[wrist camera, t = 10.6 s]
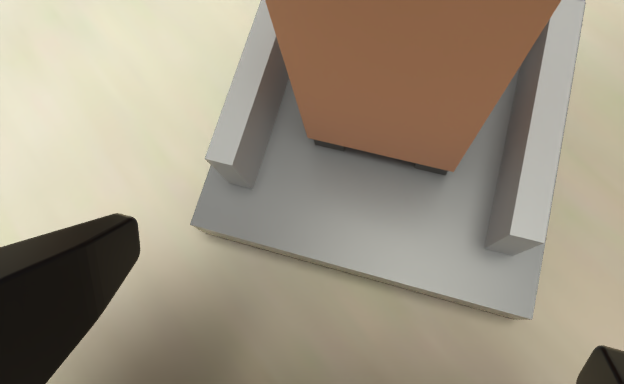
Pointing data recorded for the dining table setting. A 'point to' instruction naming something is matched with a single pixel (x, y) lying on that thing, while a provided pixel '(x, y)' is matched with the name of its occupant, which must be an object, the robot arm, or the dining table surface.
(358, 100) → the peach block
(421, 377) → the dining table surface
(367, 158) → the dock
